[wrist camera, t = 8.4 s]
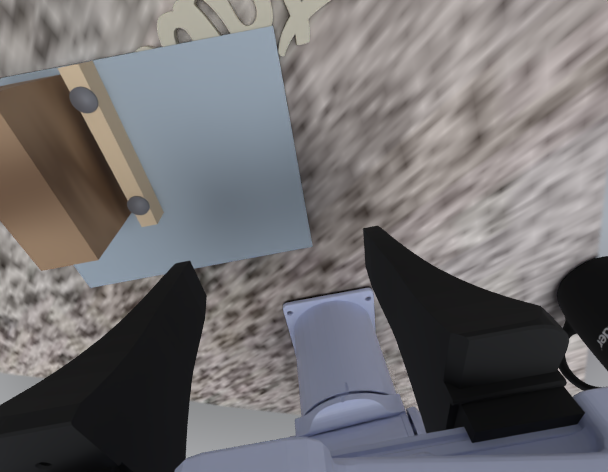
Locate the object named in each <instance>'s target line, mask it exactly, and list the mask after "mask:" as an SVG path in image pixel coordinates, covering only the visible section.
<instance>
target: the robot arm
mask: <svg viewBox="0 0 608 472" xmlns="http://www.w3.org/2000/svg"><path fill="white" fill-rule="evenodd" d="M363 234H364V249H365V264H366V269H367V273H368V276H369V279H370V282H371V285H372V288H373V290H374V292H375V295H376V297H377V299H378V301H379V303H380V305H381V308H382V310H383V312H384V314H385V316H386V318H387V320H388V323H389V325H390V327H391V329H392V331H393V334H394V336H395V338H396V341H397V344H398V347H399V350H400V352H401V355H402V358H403V361H404V364H405V367H406V370H407V373H408V376H409V379H410V382H411V385H412V388H413V392H414V395H415V398H416V401H417V404H418V408H419V411H418V410H417V409H416V408H415V407H410V408H407V409H406V411H407V414H406V411H405V409H404V406H403V403H402V400H401V397H400V394H396V391H395V388H394V385H393V383H392V380H391V377H390V374H389V371H388V368H387V365H386V362H385V359H384V356H383V354H382V351H381V348H380V345H379V342H378V339H377V336H376V332H375V313H374V293H373V291H372V289H371V288H363V289H358V290H353V291H347V292H342V293H336V294H331V295H325V296H320V297H315V298H309V299H304V300H298V301H293V302H287V303H285V304H284V305H283V311H284V315H285V318H286V322H287V325H288V329H289V332H290V336H291V339H292V343H293V347H294V350H295V354H296V358H297V369H298V381H299V392H300V404H301V415H302V417H300V418H297V419H295V429H296V436H290V437H289V438H282V439H277V440H271V441H265V442H260V443H255V444H248V445H243V446H238V447H232V448H226V449H220V450H215V451H210V452H204V453H200V454H197V455H195V456H191V457H188V458H187V459H185V458H186V438H187V424H188V412H189V401H190V392H191V383H192V376H193V370H194V365H195V360H196V356H197V352H198V347H199V343H200V338H201V334H202V329H203V325H204V320H205V311H206V294H205V292H204V290H203V287H202V285H201V283H200V281H199V279H198V277H197V274H196V272H195V270H194V268H193V266H192V264H191V261H185V262H180V263H175V264H174V265H173V266H172V267H171V268H170V269H169V271H168V272H167V273H166V274H165V275H164V276H163V277H162V278H161V279H160V281H159V282H158V283H157V284H156V285H155V286H154V287H153V288H152V289H151V291H150V292H149V293H148V294H147V295H146V296H145V297H144V298H143V299H142V300H141V301H140V302H139V303H138V304H137V305H136V306H135V307H134V308H133V309H132V310H131V311H130V312H129V313H128V314H127V315H126V317H124V318H123V319H122V320H121V321H120V322H119V323H118V324H117V325H116V326H115V327H114V328H112V329H111V330H110V331H109V332H108V333H107V334H105V335H104V336H103V337H102V338H101V339H100V340H98V341H97V342H96V343H94V344H93V345H92V346H90V347H89V348H88V349H87V350H85V351H84V352H83V353H81V354H80V355H79V356H77V357H76V358H75V359H73V360H72V361H70V362H69V363H68V364H66V365H65V366H63V367H62V368H60V369H59V370H57V371H56V372H54V373H53V374H51V375H50V376H48V377H47V378H45V379H44V380H42V381H41V382H39V383H37V384H36V385H34V386H32V387H31V388H29V389H27V390H25V391H24V392H22V393H20V394H19V395H17V396H15V397H13V398H12V399H10V400H8V401H7V402H5V403H3V404H1V405H0V472H608V387H602V388H596V389H590V390H586V391H582V392H579V393H578V394H576V395H574V396H573V397H572V396H571V395H570V394H569V392H568V391H567V390H566V389H565V387H564V386H565V385H566V383H567V382H566V379H565V378H564V377H563V376H562V375H561V373H560V372H559V371H558V370H557V369H558V367H559V365H560V363H561V361H562V359H563V357H564V355H565V353H566V351H567V347H568V344H569V338H568V334H567V333H566V332H565V331H564V330H563V328H562V327H561V326H560V325H559V324H558V323H557V322H556V321H555V320H554V319H553V317H552V316H550V315H549V314H548V313H547V312H546V311H545V310H544V309H543V308H542V307H541V306H538V305H535V304H531V303H527V302H524V301H520V300H516V299H513V298H509V297H506V296H503V295H500V294H497V293H494V292H491V291H488V290H485V289H483V288H480V287H477V286H475V285H472V284H470V283H468V282H465V281H463V280H461V279H458V278H456V277H454V276H452V275H450V274H448V273H446V272H444V271H442V270H440V269H438V268H437V267H435V266H433V265H431V264H430V263H428V262H426V261H425V260H423V259H422V258H420V257H419V256H417V255H416V254H414V253H413V252H411V251H410V250H409V249H407V248H406V247H404V246H403V245H402V244H400V243H399V242H398V241H397V240H395V239H394V238H393V237H392V236H390V235H389V234H388V233H387V232H385V231H384V230H383V229H382V228H380V227H379V226H373V227H368V228H363ZM366 297H368V298H366ZM288 311H291V312H288ZM407 416H408V417H407Z"/></svg>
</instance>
